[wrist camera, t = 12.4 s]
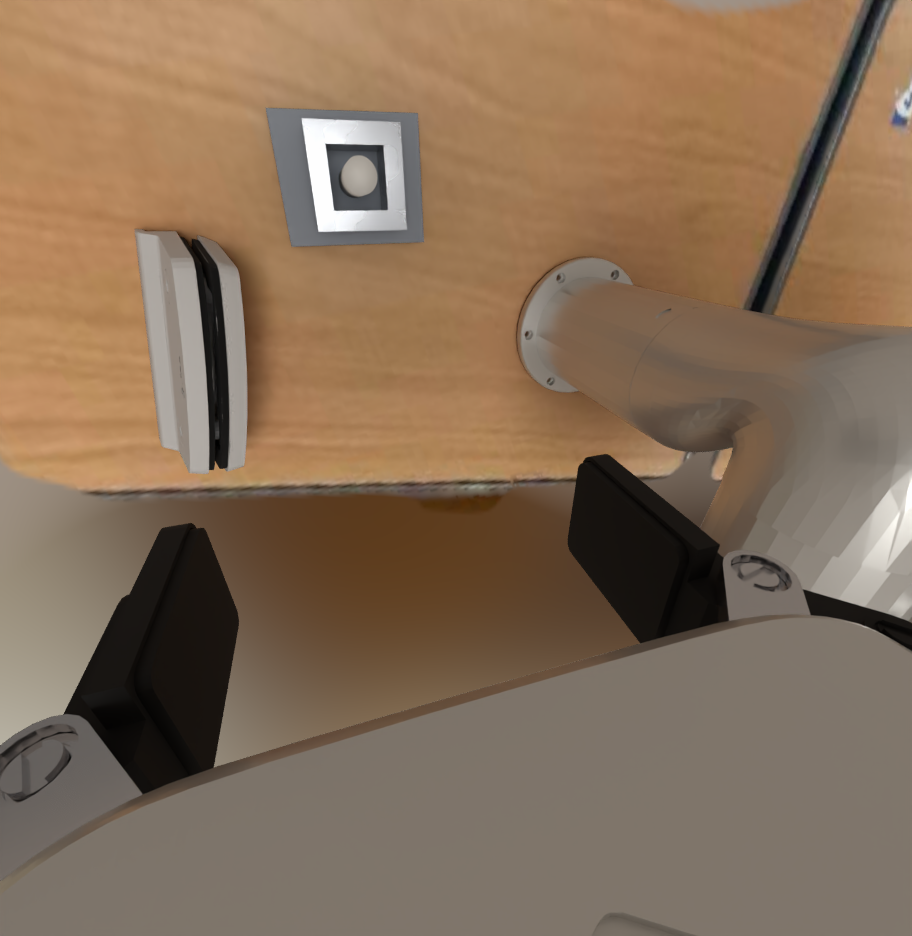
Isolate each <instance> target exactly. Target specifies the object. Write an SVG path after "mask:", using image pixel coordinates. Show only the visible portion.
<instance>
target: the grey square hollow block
mask: <svg viewBox="0 0 912 936" xmlns="http://www.w3.org/2000/svg"><path fill="white" fill-rule="evenodd" d="M302 127H303V134H304V141H305V147H306V154H307V161H308V167H309V174H310V181H311V188H312V194H313V201H314V208H315V214H316V221H317V228H318V232H331V231H383V230H407V225H406V208H405V191H404V173H403V156H402V139H401V122H384V121H358V120H333V119H308V118H302ZM326 150H328V151H371V152H377V163H378V175H379V188H380V200H381V210H371V211H334V206H333V198H332V190H331V183H330V175H329V167H328V159H327V152H326Z"/></svg>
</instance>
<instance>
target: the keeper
mask: <svg viewBox="0 0 912 936" xmlns="http://www.w3.org/2000/svg"><path fill="white" fill-rule="evenodd" d="M266 112H267V117H268V123H269V128H270V133H271V139H272V144H273V150H274V155H275V160H276V166H277V171H278V176H279V182H280V187H281V193H282V198H283V203H284V209H285V214H286V219H287V225H288V230H289V236H290V241H291V246H292V247H297V246H326V245H354V244H382V243H411V242H424V234H423V213H422V192H421V171H420V150H419V129H418V113H398V112H369V111H340V110H311V109H282V108H266ZM302 118H308V119H333V120H358V121H384V122H401V139H402V156H403V173H404V191H405V208H406V225H407V230H383V231H331V232H318V228H317V221H316V214H315V208H314V201H313V194H312V188H311V181H310V174H309V167H308V161H307V154H306V147H305V141H304V134H303V127H302ZM326 152H327V159H328V167H329V175H330V183H331V190H332V198H333V206H334V211H371V210H381V200H380V188H379V175H378V163H377V152H371V151H328V150H326Z"/></svg>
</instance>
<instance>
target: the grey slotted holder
mask: <svg viewBox="0 0 912 936" xmlns="http://www.w3.org/2000/svg"><path fill="white" fill-rule="evenodd" d="M135 237H136V246H137V254H138V262H139V271H140V279H141V288H142V296H143V305H144V313H145V321H146V330H147V338H148V347H149V355H150V364H151V372H152V380H153V389H154V397H155V406H156V414H157V423H158V431H159V439H160V442H161V445H162V447H165V448H169V449H173V450H177V451H179V452H180V454H181V456H182V458H183V461H184V463H185V465H186V467H187V469H188V472H189V473H199V474H208V472H209V470H214V467H215V461H216V463H217V465H218V466H219V468H220V469H223V468H225V470H226V471H231V470H234V469H237V468H240V467H243V466H244V462H245V452H246V438H247V363H246V344H245V329H244V316H243V305H242V295H241V285H240V277H239V272H238V269H237V267H236V266H235V265H234V263H233V262H232V261H231V260H230V258H229V257H228V256H227V255H226V253H225V252H224V251H223V250H222V248H221V247H220V246H219V245H218V244H217V242H215V241H212V240H210V239H207V238H205V237H202V236H199V235H197V238H198V240H195V239H192V249H191V248H190V246H189V245H188V243H187V242H186V240H185V239H184V238H182V237H179V236H178V234H177V232H176V231H144V230H143V229H135Z"/></svg>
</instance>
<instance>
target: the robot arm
mask: <svg viewBox="0 0 912 936" xmlns="http://www.w3.org/2000/svg"><path fill="white" fill-rule="evenodd" d="M557 275H558V279H557V280H556V278H557ZM526 331H527V334H526V335H525V333H526ZM524 335H525V336H524ZM517 345H518V352H519V355H520V359H521V362H522V364H523V366H524V368H525V370H526V371H527V372H528V373H529V375H530V376H531V377H532V378H533V379H534V380H535V381H537V382H538V383H539V384H541V385H542V386H544V387H545V388H547V389H550V390H553V391H556V392H564V393H570V392H578V391H580V392H582V393H583V394H585V395H586V396H588V397H590V398H591V399H593V400H594V401H596V402H597V403H599V404H600V405H602V406H603V407H605V408H606V409H608V410H609V411H611V412H612V413H614V414H615V415H617V416H618V417H620V418H621V419H623V420H624V421H626V422H627V423H629V424H630V425H632V426H633V427H635V428H636V429H638V430H640V431H641V432H643V433H645V434H646V435H648V436H649V437H651V438H652V439H654V440H655V441H657V442H659V443H660V444H662V445H664V446H667V447H669V448H672V449H675V450H679V451H685V452H710V451H717V450H723V449H728V448H733V450H732V455H731V458H730V460H729V463H728V465H727V467H726V470H725V472H724V474H723V477H722V482H721V484H720V486H719V489H718V491H717V493H716V495H715V497H714V499H713V501H712V504H711V506H710V508H709V510H708V512H707V514H706V516H705V519H704V521H703V523H702V525H701V527H700V528H699V527H697V526H696V525H695V524H694V523H693V522H691V521H690V520H689V519H688V518H686V517H685V516H684V515H683V514H681V513H680V512H679V511H677V510H676V509H675V508H674V507H673V506H671V505H670V504H669V503H668V502H666V501H665V500H664V499H663V498H662V497H660V496H659V495H658V494H657V493H655V492H654V491H653V490H652V489H650V488H649V487H648V486H647V485H646V484H644V483H643V482H642V481H641V480H639V479H638V478H637V477H636V476H634V475H633V474H632V473H631V472H629V471H628V470H627V469H626V468H625V467H623V466H622V465H621V464H620V463H618V462H617V461H616V460H615V459H613V458H612V457H611V456H609V455H608V454H604V455H598V456H592V457H587V458H585V460H584V461H583V463H582V464H580V465H579V467H578V473H577V480H576V487H575V494H574V500H573V507H572V514H571V521H570V527H569V535H568V547H569V550H570V552H571V553H572V555H573V556H574V557H575V559H576V560H577V561H578V563H579V564H580V565H581V566H582V568H583V569H584V570H585V572H586V573H587V574H588V576H589V577H590V578H591V579H592V581H593V582H594V583H595V585H596V586H597V587H598V588H599V590H600V591H601V592H602V594H603V595H604V596H605V598H606V599H607V600H608V602H609V603H610V604H611V606H612V607H613V608H614V609H615V611H616V612H617V613H618V615H619V616H620V617H621V619H622V620H623V621H624V622H625V624H626V625H627V626H628V628H629V629H630V630H631V632H632V633H633V634H634V636H635V637H636V638H637V639H638V641H639V642H640V644H637V645H633V646H630V647H626V648H622V649H619V650H615V651H612V652H608V653H604V654H601V655H598V656H594V657H590V658H587V659H583V660H579V661H576V662H572V663H569V664H565V665H561V666H558V667H554V668H551V669H548V670H544V671H540V672H537V673H533V674H530V675H526V676H523V677H519V678H516V679H513V680H509V681H505V682H502V683H498V684H495V685H492V686H488V687H484V688H481V689H477V690H474V691H470V692H467V693H463V694H460V695H456V696H453V697H450V698H446V699H442V700H439V701H435V702H432V703H429V704H425V705H422V706H418V707H415V708H411V709H408V710H404V711H401V712H398V713H394V714H391V715H387V716H384V717H380V718H377V719H374V720H370V721H367V722H363V723H360V724H356V725H353V726H349V727H346V728H343V729H339V730H336V731H332V732H329V733H325V734H322V735H319V736H315V737H312V738H308V739H305V740H302V741H298V742H295V743H292V744H289V745H286V746H282V747H279V748H276V749H272V750H269V751H266V752H263V753H260V754H256V755H253V756H250V757H246V758H243V759H240V760H237V761H234V762H230V763H227V764H224V765H221V766H217V767H215V768H214V762H215V757H216V751H217V746H218V740H219V734H220V728H221V723H222V717H223V712H224V706H225V700H226V694H227V689H228V683H229V678H230V672H231V666H232V660H233V654H234V649H235V644H236V638H237V632H238V626H239V619H238V612H237V609H236V606H235V604H234V601H233V599H232V596H231V594H230V591H229V588H228V586H227V583H226V581H225V578H224V576H223V573H222V571H221V568H220V565H219V563H218V560H217V558H216V555H215V553H214V550H213V548H212V545H211V542H210V540H209V537H208V535H207V532H206V530H205V529H204V528H198V529H197V528H196V527H195V525H194V524H192V523H189V524H183V525H177V526H171V527H165V528H162V529H161V530H160V532H159V534H158V536H157V538H156V540H155V542H154V544H153V547H152V549H151V551H150V553H149V555H148V557H147V559H146V561H145V563H144V565H143V567H142V570H141V572H140V574H139V576H138V578H137V580H136V582H135V584H134V586H133V589H132V591H131V592H130V595H126V596H125V597H123V598H122V599H121V601H120V602H119V604H118V605H117V607H116V609H115V611H114V613H113V615H112V617H111V620H110V621H109V623H108V626H107V627H106V629H105V631H104V634H103V636H102V638H101V640H100V642H99V644H98V646H97V648H96V650H95V652H94V654H93V656H92V658H91V660H90V662H89V664H88V666H87V668H86V670H85V672H84V674H83V676H82V678H81V680H80V682H79V684H78V686H77V688H76V690H75V692H74V694H73V696H72V698H71V700H70V702H69V704H68V706H67V708H66V710H65V712H64V714H63V715H58V716H53V717H49V718H47V719H44V720H42V721H39V722H36V723H34V724H32V725H30V726H28V727H27V728H25V729H23V730H22V731H20V732H18V733H17V734H15V735H13V736H12V737H11V738H9V739H8V740H7V741H5V742H4V743H3V744H2V745H0V936H912V327H904V326H885V325H866V324H847V323H832V322H823V321H813V320H803V319H794V318H788V317H782V316H775V315H770V314H764V313H759V312H753V311H748V310H743V309H739V308H734V307H730V306H725V305H720V304H716V303H711V302H707V301H702V300H698V299H693V298H688V297H684V296H679V295H675V294H670V293H666V292H661V291H657V290H652V289H648V288H643V287H639V286H634V285H633V283H632V281H631V279H630V277H629V276H628V275H627V274H626V273H625V271H624V270H623V269H622V268H620V267H619V266H617V265H616V264H614V263H613V262H610V261H607V260H604V259H601V258H594V257H584V258H577V259H573V260H569V261H567V262H565V263H563V264H561V265H559V266H557V267H555V268H554V269H553V270H551V271H550V272H549V273H547V274H546V275H545V276H544V277H543V278H542V279H541V280H540V281H539V282H538V283H537V285H536V286H535V287H534V289H533V290H532V292H531V293H530V295H529V296H528V298H527V300H526V302H525V304H524V307H523V309H522V311H521V315H520V319H519V322H518V330H517ZM548 378H549V379H548ZM547 379H548V380H547Z"/></svg>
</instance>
